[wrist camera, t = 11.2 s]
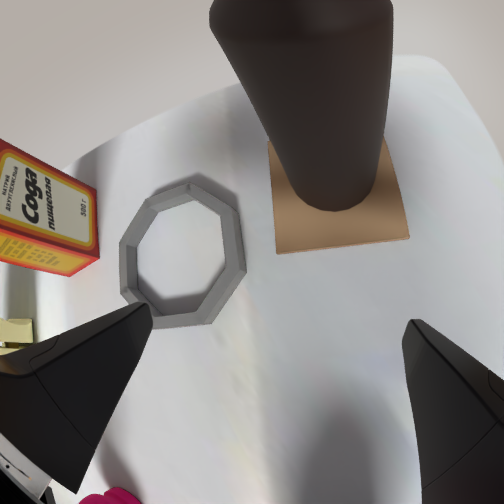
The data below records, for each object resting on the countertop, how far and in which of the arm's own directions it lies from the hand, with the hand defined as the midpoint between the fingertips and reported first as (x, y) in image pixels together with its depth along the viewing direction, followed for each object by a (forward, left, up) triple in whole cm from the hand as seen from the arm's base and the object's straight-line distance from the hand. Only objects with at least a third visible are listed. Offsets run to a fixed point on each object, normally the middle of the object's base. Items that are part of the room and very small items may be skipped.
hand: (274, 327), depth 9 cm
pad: (+4, -9, -11) cm, 15 cm away
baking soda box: (+27, +9, -11) cm, 31 cm away
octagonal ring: (+12, +3, -11) cm, 17 cm away
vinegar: (+5, -10, -11) cm, 15 cm away
